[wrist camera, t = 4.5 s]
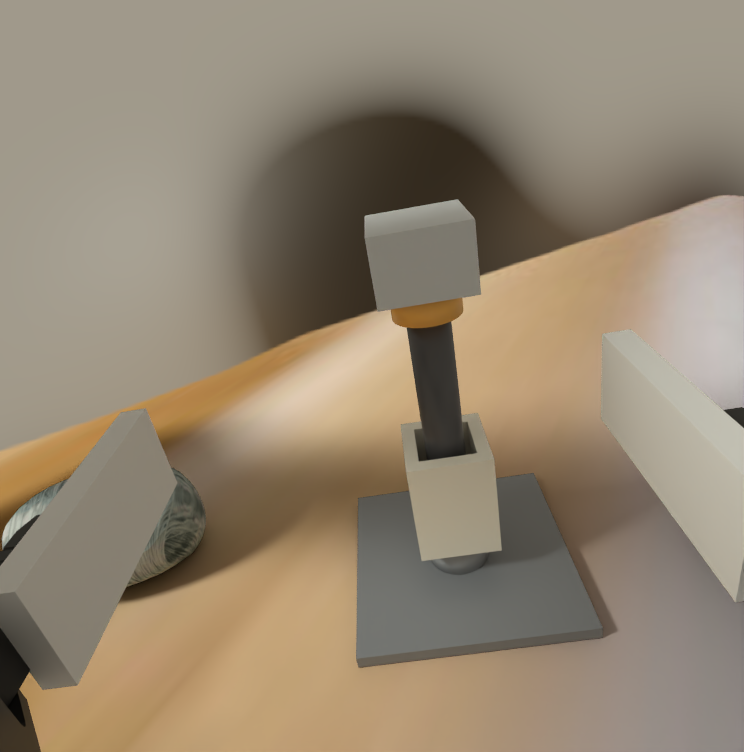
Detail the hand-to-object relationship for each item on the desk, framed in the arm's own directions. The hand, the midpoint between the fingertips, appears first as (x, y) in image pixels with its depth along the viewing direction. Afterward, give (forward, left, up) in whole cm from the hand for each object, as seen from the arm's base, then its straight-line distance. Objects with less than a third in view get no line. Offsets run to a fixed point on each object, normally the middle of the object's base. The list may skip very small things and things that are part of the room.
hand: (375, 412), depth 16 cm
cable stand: (-11, +9, -21) cm, 25 cm away
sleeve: (-11, +9, -18) cm, 23 cm away
